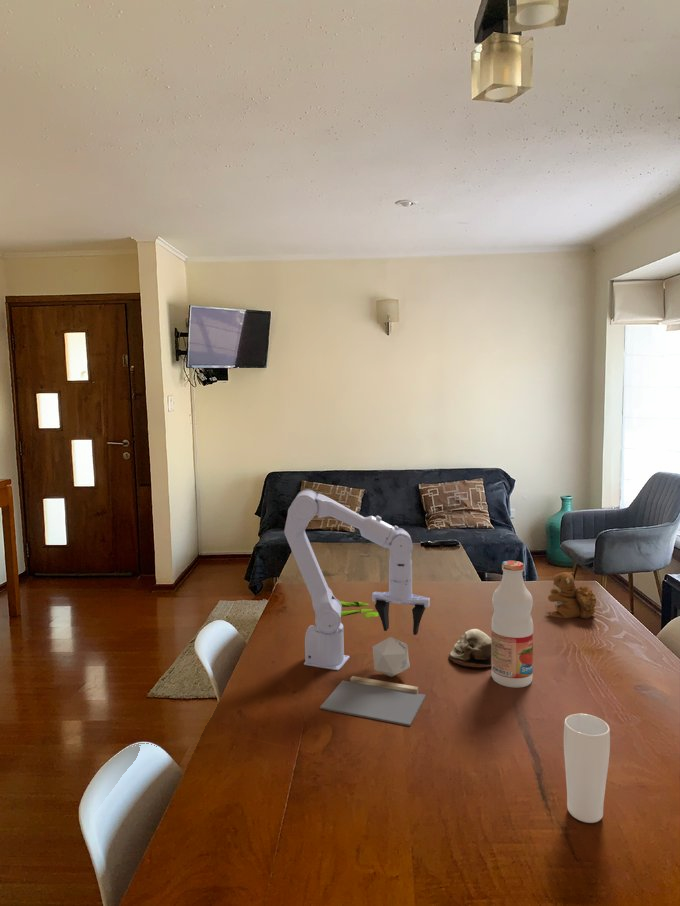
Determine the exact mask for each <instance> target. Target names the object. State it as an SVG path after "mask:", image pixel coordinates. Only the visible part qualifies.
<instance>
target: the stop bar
mask: <svg viewBox="0 0 680 906" xmlns="http://www.w3.org/2000/svg"><path fill="white" fill-rule="evenodd" d="M349 679H350V681H349V682H354V683H360V684H366V685H372V686H378V687H384V688H389V689H395V690H401V691H407V692H413V693H418V694H419V686H415V685H408V684H403V683H397V682H392V681H391V682H390V681H384V680H378V679H373V678H367V677H361V676H355V675H351V677H350V678H349Z"/></svg>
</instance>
